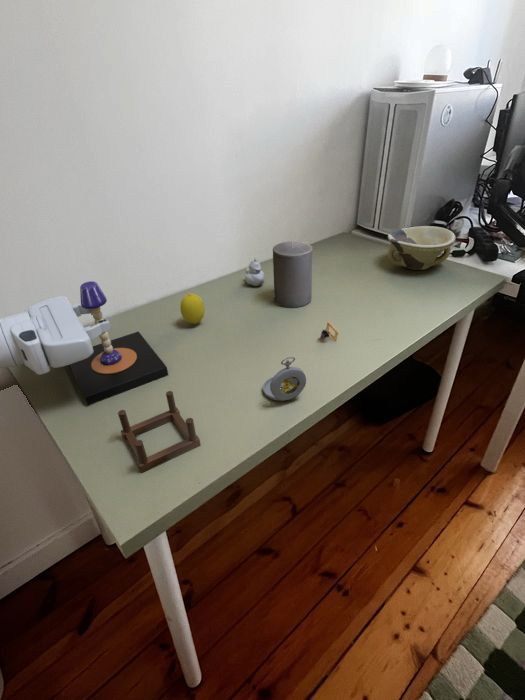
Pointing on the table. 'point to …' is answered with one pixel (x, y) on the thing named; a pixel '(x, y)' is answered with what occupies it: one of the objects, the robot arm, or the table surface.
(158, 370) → the stove
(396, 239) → the bowl
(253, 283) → the rubber duck
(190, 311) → the lemon
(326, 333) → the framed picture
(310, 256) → the pillar candle
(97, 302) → the toy lamp
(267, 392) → the pocket watch
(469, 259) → the table surface
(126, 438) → the rack
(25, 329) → the robot arm
